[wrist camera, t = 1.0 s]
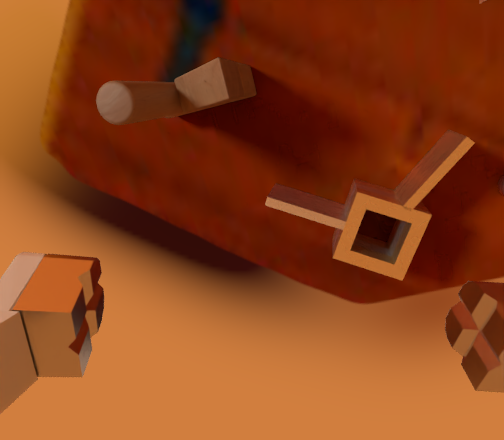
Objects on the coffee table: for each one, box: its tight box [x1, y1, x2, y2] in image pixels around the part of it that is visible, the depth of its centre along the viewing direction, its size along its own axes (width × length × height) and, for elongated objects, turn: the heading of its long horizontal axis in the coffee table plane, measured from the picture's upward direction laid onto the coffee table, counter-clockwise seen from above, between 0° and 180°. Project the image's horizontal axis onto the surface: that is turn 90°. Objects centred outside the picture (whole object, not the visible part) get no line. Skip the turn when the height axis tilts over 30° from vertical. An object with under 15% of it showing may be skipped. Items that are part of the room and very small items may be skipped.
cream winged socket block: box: [265, 130, 474, 281], centre depth 47 cm, size 18×16×7 cm
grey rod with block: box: [96, 57, 256, 125], centre depth 42 cm, size 4×11×18 cm, turn 104°
